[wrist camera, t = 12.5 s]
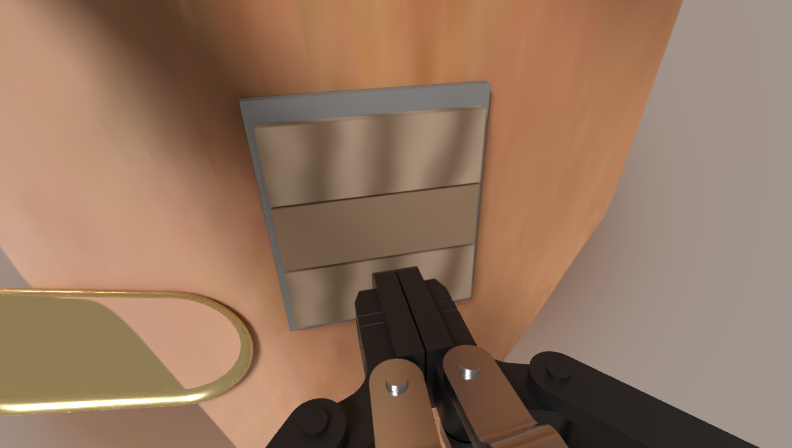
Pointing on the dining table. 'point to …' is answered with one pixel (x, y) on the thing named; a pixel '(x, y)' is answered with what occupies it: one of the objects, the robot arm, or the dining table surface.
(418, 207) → the panel
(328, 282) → the far plank
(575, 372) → the robot arm
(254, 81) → the dining table surface
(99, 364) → the serving platter
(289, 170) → the near plank
